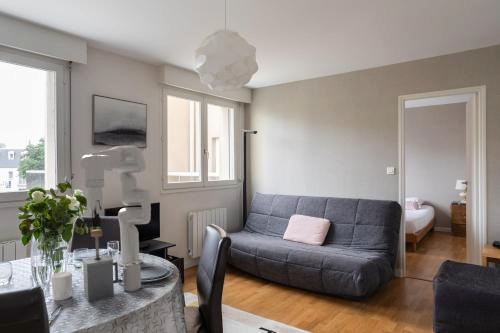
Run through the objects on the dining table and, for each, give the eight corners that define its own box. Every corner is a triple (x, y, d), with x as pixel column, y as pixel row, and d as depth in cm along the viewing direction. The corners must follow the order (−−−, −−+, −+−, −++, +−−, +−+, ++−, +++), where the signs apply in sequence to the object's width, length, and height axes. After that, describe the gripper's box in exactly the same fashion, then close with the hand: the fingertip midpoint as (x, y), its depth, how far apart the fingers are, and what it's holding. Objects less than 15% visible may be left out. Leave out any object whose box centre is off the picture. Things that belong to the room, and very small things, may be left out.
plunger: (91, 263, 145) (90, 230, 145) (102, 261, 147) (101, 228, 147) (93, 265, 141) (92, 232, 141) (104, 263, 144) (103, 230, 144)
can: (144, 288, 151) (143, 262, 151) (128, 293, 146) (127, 266, 146) (136, 284, 156) (135, 259, 156) (120, 289, 151) (119, 263, 151)
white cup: (58, 302, 138) (57, 278, 138) (48, 299, 142) (47, 275, 142) (76, 295, 145) (75, 273, 145) (66, 292, 149) (65, 270, 149)
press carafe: (83, 294, 146) (82, 258, 146) (115, 287, 154) (114, 252, 153) (88, 302, 137) (86, 264, 137) (121, 294, 145) (120, 258, 145)
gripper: (82, 183, 147) (83, 225, 148) (88, 185, 135) (89, 230, 135) (100, 182, 152) (101, 222, 152) (108, 184, 139) (109, 227, 140)
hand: (96, 226), depth 144 cm, fingers closed
